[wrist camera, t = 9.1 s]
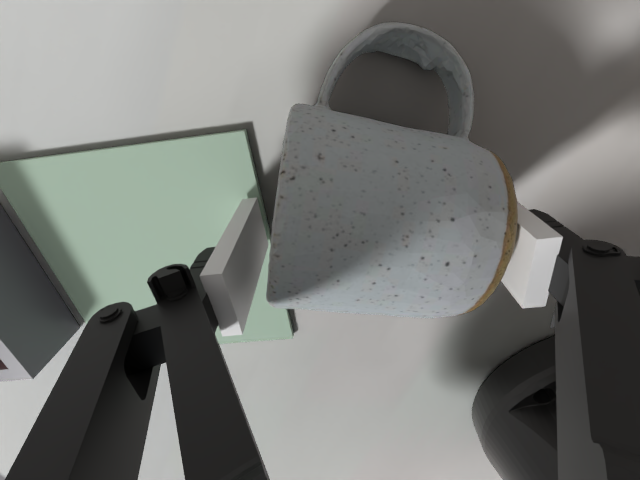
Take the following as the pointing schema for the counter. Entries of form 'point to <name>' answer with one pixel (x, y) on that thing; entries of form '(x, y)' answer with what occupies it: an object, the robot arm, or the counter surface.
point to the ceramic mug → (390, 200)
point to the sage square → (139, 218)
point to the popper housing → (27, 310)
